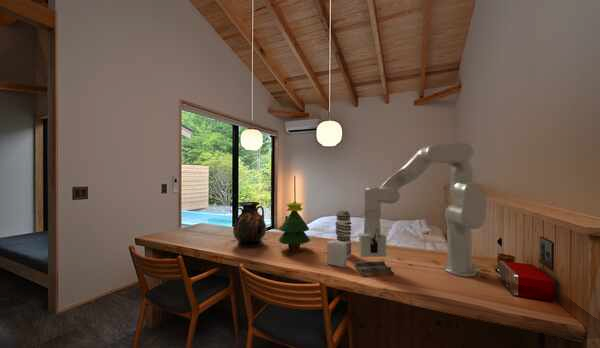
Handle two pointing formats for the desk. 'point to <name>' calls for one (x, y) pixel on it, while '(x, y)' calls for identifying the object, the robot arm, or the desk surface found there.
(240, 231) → the amphora vase
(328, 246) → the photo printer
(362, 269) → the door track
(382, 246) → the pale sage cube
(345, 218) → the grey layered cylinder
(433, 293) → the desk surface
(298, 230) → the decorative tree
